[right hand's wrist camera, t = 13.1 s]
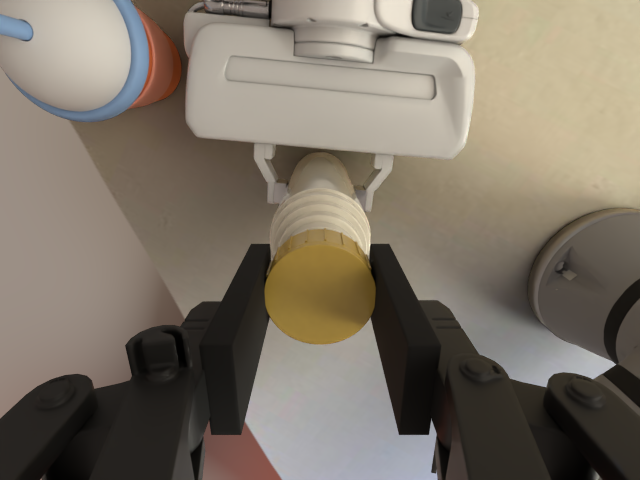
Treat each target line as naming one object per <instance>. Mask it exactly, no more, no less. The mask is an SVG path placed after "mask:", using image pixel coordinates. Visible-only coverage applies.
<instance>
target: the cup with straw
mask: <svg viewBox="0 0 640 480" xmlns="http://www.w3.org/2000/svg"><path fill="white" fill-rule="evenodd" d="M0 67H1V68H2V69H3V71H4V72H5V73H6V75H7V76H8V78H9V79H10V80H11V82H12V83H13V84H14V85H15V86H16V88H17V89H18V90H19V91H20V92H21V93H22V94H23V95H24V96H26V97H27V98H28V99H29V100H30V101H32V102H33V103H34V104H36V105H37V106H39V107H40V108H42V109H44V110H46V111H47V112H49V113H51V114H54V115H56V116H59V117H61V118H65V119H68V120H73V121H79V122H98V121H103V120H107V119H110V118H113V117H115V116H117V115H119V114H121V113H122V112H124V111H125V110H126V109H131V108H136V107H142V106H146V105H149V104H151V103H153V102H155V101H159V100H162V99H165V98H166V97H168V96H169V95H171V94H172V93H173V91H174V90H175V89H176V87H177V85H178V83H179V81H180V77H181V60H180V56H179V53H178V51H177V49H176V47H175V45H174V43H173V42H172V40H171V39H170V38H169V37H168V36H167V35H166V34H165V33H164V32H163V31H162V30H161V29H160V28H159V27H158V25H157V24H156V23H155V22H154V21H153V20H152V19H151V18H149V17H148V16H147V15H146V14H144V13H143V12H142V11H141V10H139V9H138V8H137V7H136V6H134V5H133V3H132V2H131V0H0Z"/></svg>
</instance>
